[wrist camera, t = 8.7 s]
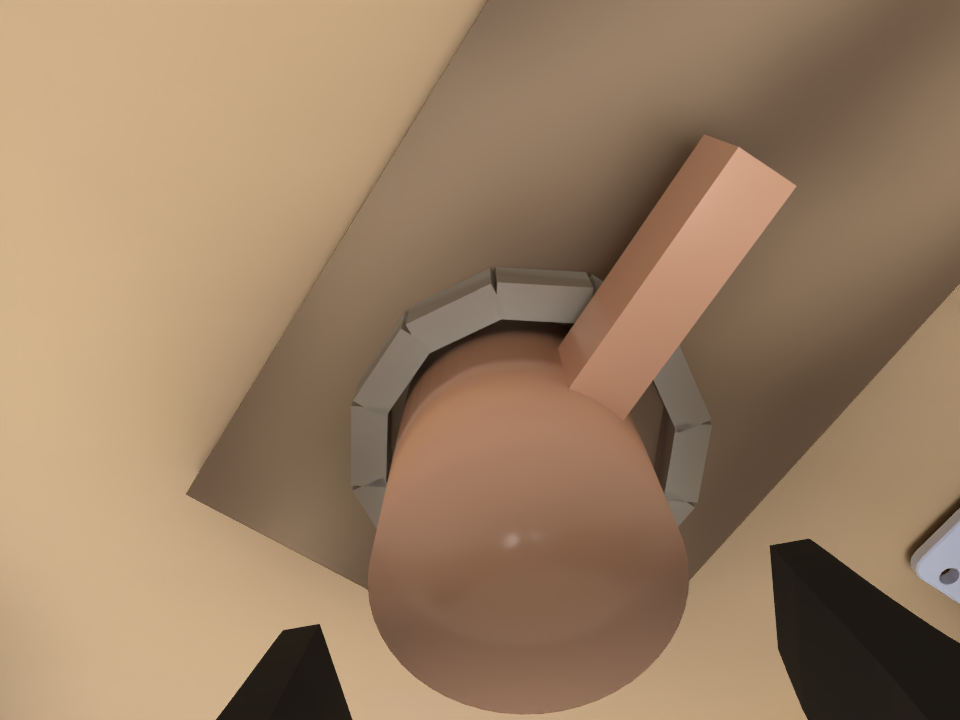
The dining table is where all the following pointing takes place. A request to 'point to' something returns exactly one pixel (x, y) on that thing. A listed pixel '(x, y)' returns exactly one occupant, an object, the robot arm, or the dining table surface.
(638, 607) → the cylinder with stick handle
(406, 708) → the dining table surface
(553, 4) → the board
